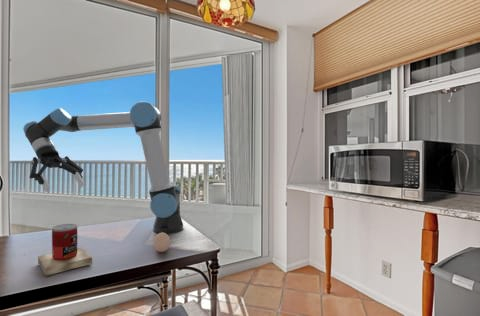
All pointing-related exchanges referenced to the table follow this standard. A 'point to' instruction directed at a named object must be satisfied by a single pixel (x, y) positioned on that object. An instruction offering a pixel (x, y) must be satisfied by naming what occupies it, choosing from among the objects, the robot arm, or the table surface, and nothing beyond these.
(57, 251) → the canned food
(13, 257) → the table surface
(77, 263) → the maple stand
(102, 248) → the table surface
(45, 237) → the table surface
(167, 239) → the egg
